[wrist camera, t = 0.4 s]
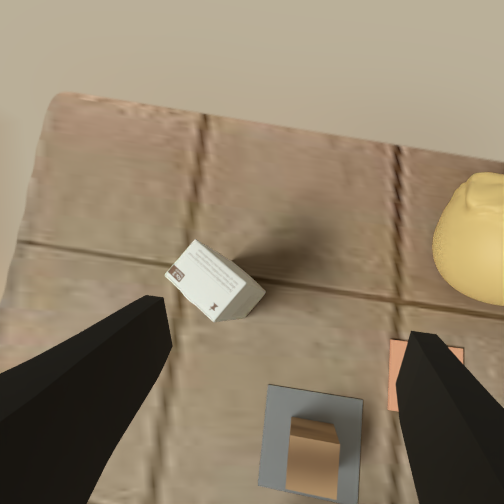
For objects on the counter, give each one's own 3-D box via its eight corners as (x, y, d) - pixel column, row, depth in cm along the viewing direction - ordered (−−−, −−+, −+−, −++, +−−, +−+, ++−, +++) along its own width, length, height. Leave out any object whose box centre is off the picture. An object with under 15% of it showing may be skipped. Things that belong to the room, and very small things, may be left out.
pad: (461, 421, 30) (463, 422, 30) (387, 408, 32) (388, 409, 31) (461, 348, 32) (463, 348, 31) (390, 339, 33) (391, 339, 32)
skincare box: (267, 291, 36) (253, 281, 24) (242, 321, 35) (215, 326, 24) (229, 258, 37) (197, 233, 25) (204, 286, 37) (161, 275, 25)
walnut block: (330, 470, 31) (336, 500, 26) (287, 461, 32) (285, 488, 27) (333, 424, 32) (339, 444, 27) (291, 416, 33) (290, 435, 28)
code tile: (357, 506, 30) (357, 507, 30) (257, 485, 32) (257, 485, 32) (362, 399, 32) (362, 400, 32) (268, 384, 34) (268, 384, 34)
